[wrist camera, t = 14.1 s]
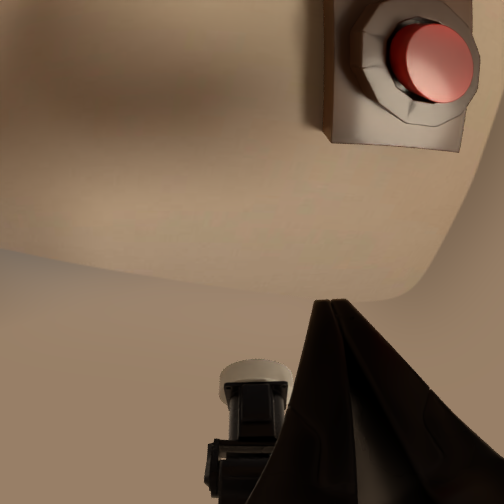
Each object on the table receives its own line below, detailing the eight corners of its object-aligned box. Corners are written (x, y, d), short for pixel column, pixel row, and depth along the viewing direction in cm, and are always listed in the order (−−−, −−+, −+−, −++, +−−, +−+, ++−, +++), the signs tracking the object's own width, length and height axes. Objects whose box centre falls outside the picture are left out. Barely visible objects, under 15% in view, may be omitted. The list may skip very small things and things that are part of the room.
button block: (441, 140, 17) (475, 165, 14) (322, 131, 17) (339, 155, 14) (451, -8, 11) (491, -10, 8) (321, -36, 11) (340, -55, 8)
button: (450, 100, 12) (469, 109, 11) (386, 90, 12) (402, 97, 11) (455, 32, 10) (475, 35, 9) (388, 16, 10) (406, 15, 9)
